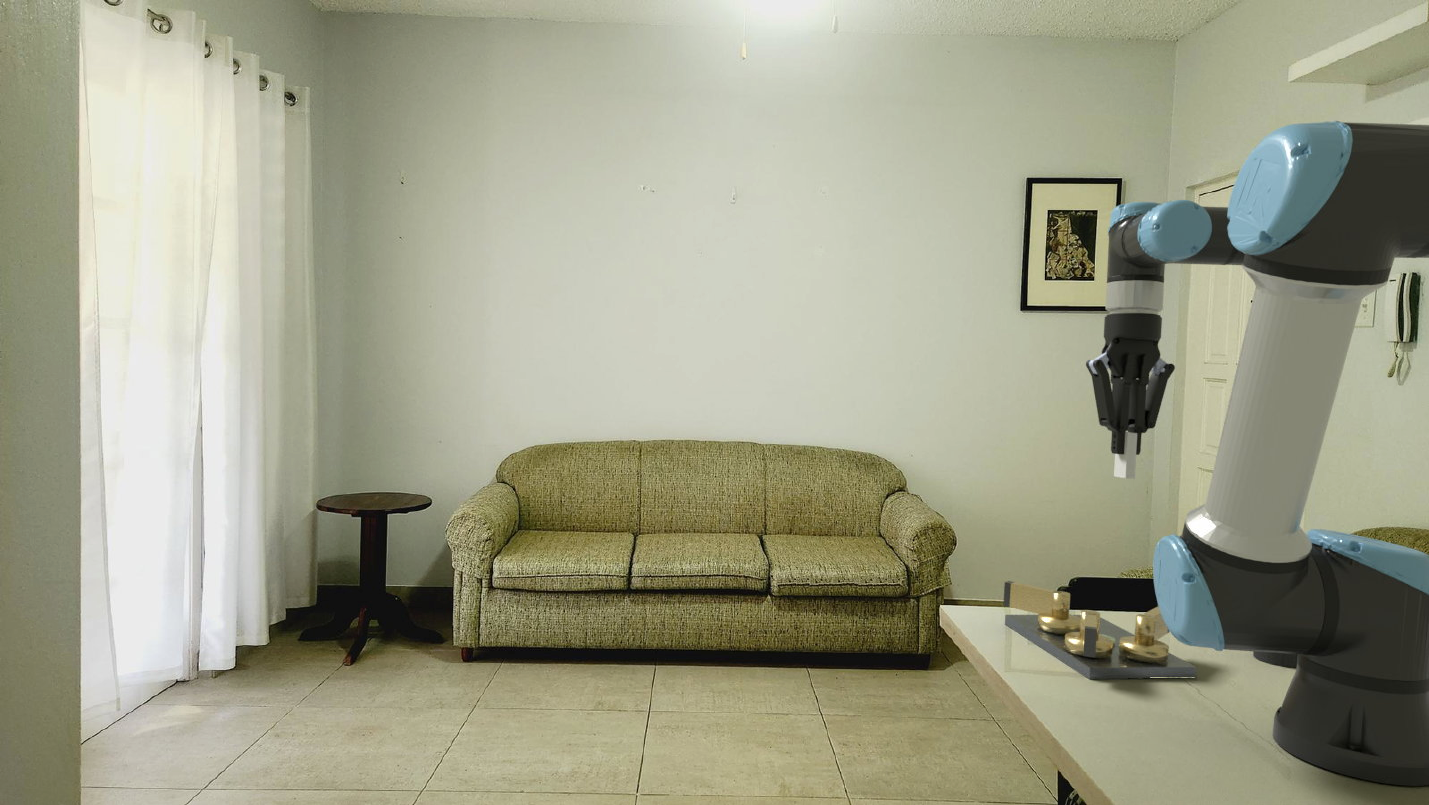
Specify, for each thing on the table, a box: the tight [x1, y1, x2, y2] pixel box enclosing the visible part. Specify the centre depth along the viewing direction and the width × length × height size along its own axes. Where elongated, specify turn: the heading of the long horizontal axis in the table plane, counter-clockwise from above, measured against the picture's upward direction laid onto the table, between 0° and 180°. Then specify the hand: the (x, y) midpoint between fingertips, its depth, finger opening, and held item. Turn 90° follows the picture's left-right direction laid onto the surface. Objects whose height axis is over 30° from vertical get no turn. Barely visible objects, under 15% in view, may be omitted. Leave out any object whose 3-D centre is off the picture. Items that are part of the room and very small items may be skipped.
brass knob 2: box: [1064, 609, 1113, 658], centre depth 122 cm, size 12×6×5 cm, turn 158°
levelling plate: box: [1004, 614, 1198, 680], centre depth 131 cm, size 24×15×2 cm, turn 8°
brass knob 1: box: [1002, 580, 1081, 634], centre depth 136 cm, size 12×6×5 cm, turn 46°
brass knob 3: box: [1119, 605, 1171, 662], centre depth 126 cm, size 12×6×5 cm, turn 137°
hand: (1124, 477), depth 133 cm, fingers closed
